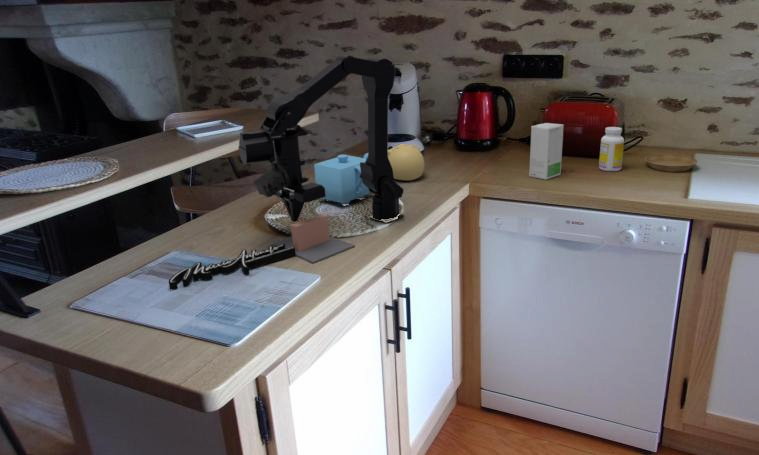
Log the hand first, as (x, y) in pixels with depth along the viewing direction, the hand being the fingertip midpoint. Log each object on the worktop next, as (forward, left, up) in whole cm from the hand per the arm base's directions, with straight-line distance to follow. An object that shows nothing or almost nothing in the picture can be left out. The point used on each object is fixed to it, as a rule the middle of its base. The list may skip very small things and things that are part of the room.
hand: (294, 221), depth 137 cm
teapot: (-30, -14, -5) cm, 33 cm away
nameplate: (+19, +3, -5) cm, 20 cm away
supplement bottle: (-99, +29, -5) cm, 103 cm away
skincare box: (-81, +17, -5) cm, 83 cm away
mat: (0, +6, -5) cm, 8 cm away
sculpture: (-53, -15, -5) cm, 55 cm away
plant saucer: (-112, +42, -5) cm, 120 cm away
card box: (0, +6, -4) cm, 8 cm away
